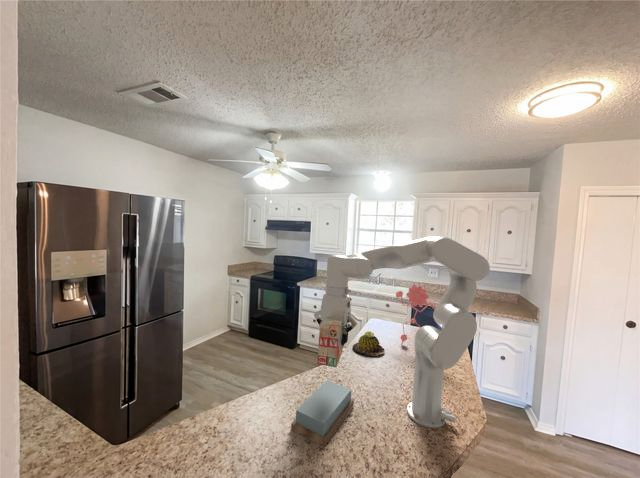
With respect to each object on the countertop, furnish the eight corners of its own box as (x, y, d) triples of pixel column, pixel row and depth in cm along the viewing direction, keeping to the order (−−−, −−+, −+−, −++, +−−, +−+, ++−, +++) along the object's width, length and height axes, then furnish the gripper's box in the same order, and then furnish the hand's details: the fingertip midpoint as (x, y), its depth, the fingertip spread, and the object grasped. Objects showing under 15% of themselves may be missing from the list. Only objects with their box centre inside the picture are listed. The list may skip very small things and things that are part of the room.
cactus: (350, 353, 139) (351, 335, 138) (354, 341, 154) (355, 324, 154) (384, 359, 135) (385, 340, 134) (384, 346, 150) (385, 329, 150)
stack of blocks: (330, 337, 104) (332, 307, 104) (346, 340, 103) (347, 309, 102) (317, 364, 84) (319, 326, 83) (336, 368, 82) (339, 329, 82)
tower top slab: (350, 400, 96) (351, 389, 95) (322, 436, 79) (323, 423, 78) (326, 390, 101) (327, 380, 101) (295, 422, 84) (296, 410, 83)
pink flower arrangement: (431, 358, 138) (436, 291, 137) (387, 341, 157) (391, 282, 155) (442, 349, 149) (447, 288, 147) (400, 334, 167) (404, 279, 166)
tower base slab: (353, 410, 96) (353, 399, 96) (324, 453, 77) (324, 440, 77) (324, 398, 102) (325, 388, 102) (290, 435, 83) (291, 423, 83)
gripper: (364, 292, 91) (360, 343, 92) (319, 285, 99) (316, 331, 100) (356, 297, 84) (352, 351, 85) (309, 288, 93) (306, 338, 93)
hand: (333, 340), depth 93 cm, fingers closed on stack of blocks, 7 cm apart
